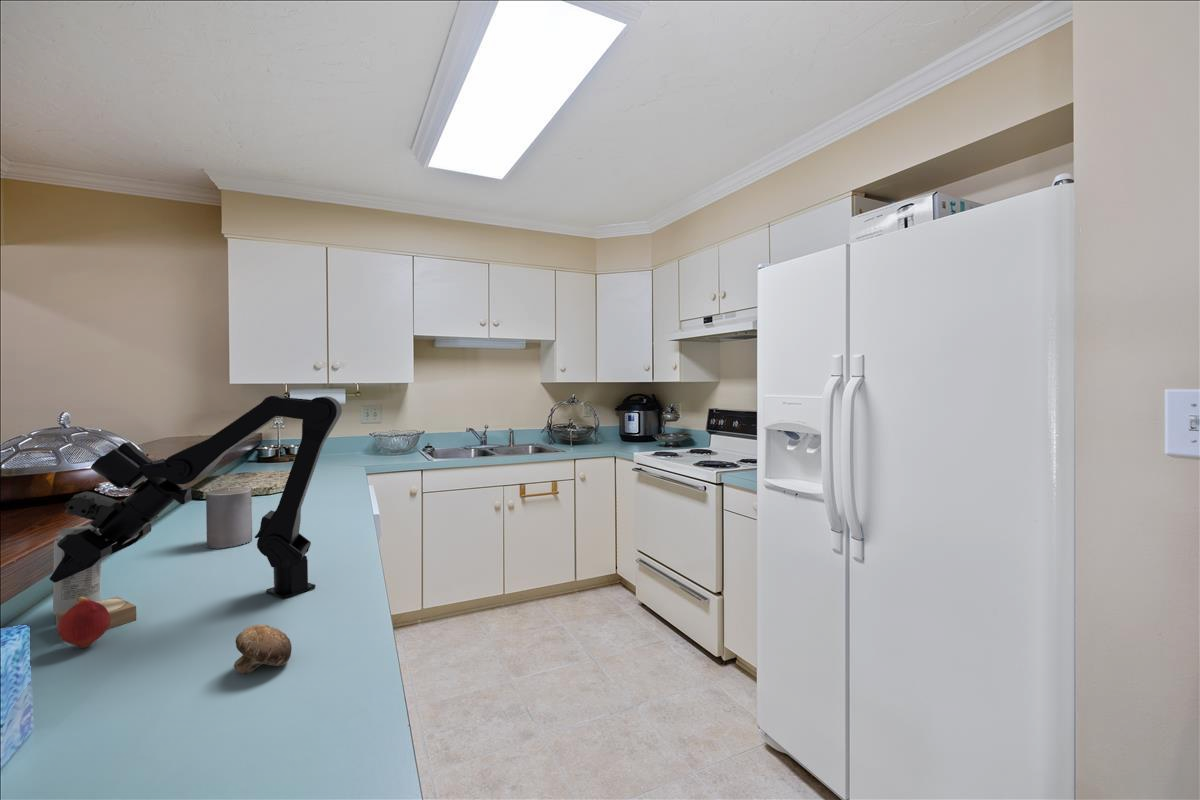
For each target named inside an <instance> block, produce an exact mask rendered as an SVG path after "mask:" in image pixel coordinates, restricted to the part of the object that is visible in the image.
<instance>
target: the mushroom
mask: <svg viewBox="0 0 1200 800" xmlns="http://www.w3.org/2000/svg"><path fill="white" fill-rule="evenodd" d="M235 637H236V638H235V646H236V649H237V651H238V652H239V654H241V655H242V656H240V657H239V658H238V659H236V660H235V662H234V664H233V668H234V670H235V671H236V672H237V673H239V674H243V675H246V674H249V673H252V672H254V671H255V669H257V668H258V667H260V666H261V665H263V664H265V665H268V666H277V667H278V666H283V665H286V664H287V663H288V661H290V658H291V655H292V643H291V640H290V638H289V637H288V636H287V634H286V633H285V632H283V631H282V630H280V629H279V628H276V627H274V626H270V625H269V624H268V625H267V624H254V625H251V626H249V627H246V628H245V629H243V630H242V631H241V632H240V633H239V634H238V635H237V636H235Z"/></svg>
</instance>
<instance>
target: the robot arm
mask: <svg viewBox="0 0 1200 800" xmlns="http://www.w3.org/2000/svg"><path fill="white" fill-rule="evenodd" d="M342 411H343V409H342V406H341V404H340V402H339V401H338V400H337V399H335V398H334V397H331V396H327V395H326V396H319V397H317V396H316V397H315V398H312V399H307V398H297V397H286V396H282V395H279V394H278V395H270V396H267V397H265V398H264V399H263V400H262V401H261V402H260V403H258V404H257V405H256V406H254V407H253V408H252V409H249V411H247V412H245V413H244V414H242V415H241V416H240V417H238V418H237V419H235V420H234V421H232V422H231V423H229V424H228V425H226V426H225V427H223V428H222V429H220V430H219V431H218V432H216V433H215V434H213V435H212V436H210V437H209V438H207V439H205V440H203V441H201V442H198V443H195V444H194V445H192V446H189V447H187V448H184V449H183V450H181V451H179V452H176V453H174V454H171V455H170V456H168V457H166V459H165V458H161V459H157V460H152V459H151V458H150V457H148V456H147V455H146V454H144V453H143V452H142V451H141V450H140V449H139V448H137V445H135V444H133V443H132V442H131V441H129V442H123V443H121V444H120V445H119V446H118V447H115V448H114V449H112V450H111V451H109V452H108V453H106V454H105V455H101V456H100V457H98V459H96V460H95V461H94V462H93V463H92V464H91V466H90V469H91V470H92V471H93V472H95V473H96V474H98V475H99V476H100V477H102V478H103V479H105V480H106V481H107V482H108V483H110V484H111V485H113V486H114V487H115V488H116V489H118V490H122V489H125V488H128V489H129V490H131V489H134V488H135V487H137V486H138V487H137V488H136V489H135V490H133V491H132V493H130V494H129V495H128V496H127V497H125V498H124V499H123V500H121V501H119V500H116V499H114V498H111V497H108V496H105V495H102V494H99V493H96V492H92V491H83V492H80V493H78V494H77V493H76V494H74V495H73V497H70V499H69V501H67V502H66V503H65V504H64V507H65V508H66V509H65V511H64V514H67V515H69V516H76V517H80V518H83V519H87V520H91V522H90V523H89V526H93V527H94V528H97V531H98V533H99V534H100V535H99V536H98V535H97V534H95V533H94V532H93V531H91V530H90V529H80V530H77V531H75V532H72V533H70V534H68V535H66V536H65V537H64V538H63V539H61V540H60V541H59V542H58V543H57V545H58V547H59V548H61V549H62V550H63V551H64V557H63V558H62V560H61V562H60V563H59V565H58V566H57V568H56V569H55V571H54V572H53V573H52V574H51V575H50V577H49V581H51V582H52V583H53V582H54V583H56V582H58V581H60V580H63V579H65V578H67V577H69V576H72V575H74V574H76V573H79V572H81V571H83V570H85V569H88V568H90V567H93V566H94V565H96V564H98V563H100V562H101V563H102V561H103V560H105V559H106V558H107V557H108V556H111V555H113V554H116V553H117V552H120V551H121V550H125V549H126V548H128V547H130V546H132V545H135V544H136V543H137V542H139V541H141V540H142V539H144V538H145V537H146V536H147V535H148V534H150V532H152V522H154V521H156V520H157V519H158V518H159V514H161V513H162V512H163V511H165V509H166V508H168V507H169V506H170V505H171V504H172V503H173V502H174V501H176V502H177V503H179V504H180V505H185V504H187V503H189V502H191V501H192V500H193V497H192V496H193V495H192V489H193V488H192V487H184V486H181V485H185V484H186V485H187V484H189V483H192V482H194V481H196V480H198V479H201V478H204V477H205V476H206V475H207V474H208V473H210V471H211V470H213V468H214V467H216V465H218V463H219V462H221V460H222V458H224V457H225V455H226V454H227V453H228V452H230V451H231V450H233V449H234V448H235V447H236V446H238V445H240V443H241V444H242V442H244V441H245V440H246V439H248V438H250V437H251V436H253V435H254V434H255V433H257V432H258V431H259V430H262V429H263V428H264V427H265V426H267V425H268V424H269V423H271V422H272V421H274V420H276V419H277V418H278V417H282V418H291V419H295V420H296V419H297V420H302V424H301V426H302V427H301V439H300V443H299V446H298V449H297V452H296V454H295V457H294V459H293V460H294V461H293V463H292V466H291V469H290V472H289V475H288V477H287V481H286V483H285V486H284V489H283V491H282V494H281V496H280V500H279V501H278V502H279V503H278V505H277V507H276V509H275V511H274V510H273V509H271V510H269V511H268V512H267V513H266V514H264V515H263V516H262V517H261V521H260V527H259V530H258V533H257V534H255V536H254V539H257V543H256V546H257V549H258V551H259V552H260V553H261V554H262V555H263V556H265V557H266V559H267V561H268V563H269V565H270V567H271V568H273V586H272V587H270V588H267V589H266V590H265V592H266V593H267V594H269V595H273V596H275V597H278V598H281V599H286V598H289V597H292V596H295V595H299V594H301V593H304V592H307V591H310V590H312V589H315V588H316V584H314V583H311V582H309V573H308V571H309V569H308V567H309V563H308V556H307V555H306V554H307V553H308V552H309V550H310V547H311V545H312V542H311V541H310V540H309V539H308V538H306V537H305V536H304V535H302V534H301V533H300V528H301V523H302V522H301V519H302V518H301V517H302V516H301V514H302V505H303V503H304V501H305V498H306V496H307V495H306V494H307V492H308V489H309V487H310V483H311V480H312V477H313V475H314V472H315V469H316V466H317V463H318V460H319V457H320V455H321V452H322V449H323V446H324V444H325V442H326V440H327V438H328V437H329V436H330V434H331V432H332V431H333V430H334V427H336V424H337V423H338V421H339V419H340V417H341V415H342ZM141 483H142V484H141ZM140 484H141V485H140ZM139 485H140V486H139Z"/></svg>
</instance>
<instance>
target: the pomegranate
mask: <svg viewBox="0 0 1200 800" xmlns="http://www.w3.org/2000/svg"><path fill="white" fill-rule="evenodd" d="M77 600H78V603H77V604H76V605H74V606H73V607H72V608H70V609H69V610H68V611H67V612H66V613H65V614H64V615H63V617H62V618H61V620H60V622H59V624H58V629H57V633H58V636H59V638H60V639H61V640H62V641H63V642H65V643H67V644H70V645H72V646H75V647H77V648H79V649H85V648H88V647H89V646H90V645H92V644H94V643H95V642H96V641H97V640H99V639H100V638H101V637H102V636H103V635H104V634H105V633H106V632H107V631H108V630H109V629H108V627H109V625H110V620H111V619H110V614H109V612H108V611H107V609H106V608H105V607H104V606H103V605H101V604H99V603H97V602H95V601H91V600H89V599H87V598H86V597H79V598H78V599H77Z"/></svg>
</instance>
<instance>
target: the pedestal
mask: <svg viewBox="0 0 1200 800" xmlns="http://www.w3.org/2000/svg"><path fill="white" fill-rule="evenodd" d="M96 602H97V603H99V604H101V605H103V606H104V607H105V608H106V609H107V611H108V612H109V614H110V619H111V620H110V625H109V627H108V629H107V630H110V629H111V628H116V627H118V626H121V625H125V624H128V623H131V622H135V621H137V605H135V604H133V603H132V602H129V601H127V600H125V599H123V598H120V597H119V596H115V597H111V598H107V599H102V600H101V599H100V601H96ZM67 611H68V610H66V611H62V612H58V613H56V614H55V623H56V624H55V627H56V629H57V630H58V624H59V622H60V620H61V618H62V617H63V615H64V614H65V613H66V612H67Z"/></svg>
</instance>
